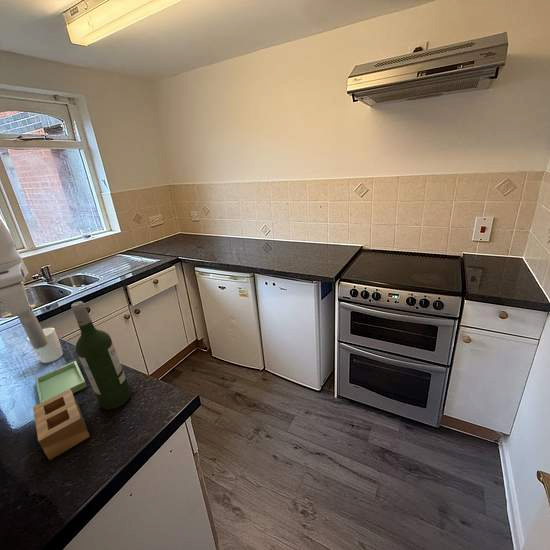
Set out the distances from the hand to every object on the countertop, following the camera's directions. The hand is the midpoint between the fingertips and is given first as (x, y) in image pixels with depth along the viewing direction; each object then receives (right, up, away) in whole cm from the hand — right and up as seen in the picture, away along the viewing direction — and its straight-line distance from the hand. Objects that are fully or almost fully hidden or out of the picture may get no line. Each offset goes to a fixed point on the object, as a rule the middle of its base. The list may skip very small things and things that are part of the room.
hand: (28, 319), depth 82 cm
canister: (+1, -8, +3) cm, 9 cm away
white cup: (-12, -18, +26) cm, 34 cm away
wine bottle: (+24, -23, +1) cm, 33 cm away
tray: (+2, -22, +10) cm, 24 cm away
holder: (+15, -27, -7) cm, 31 cm away
